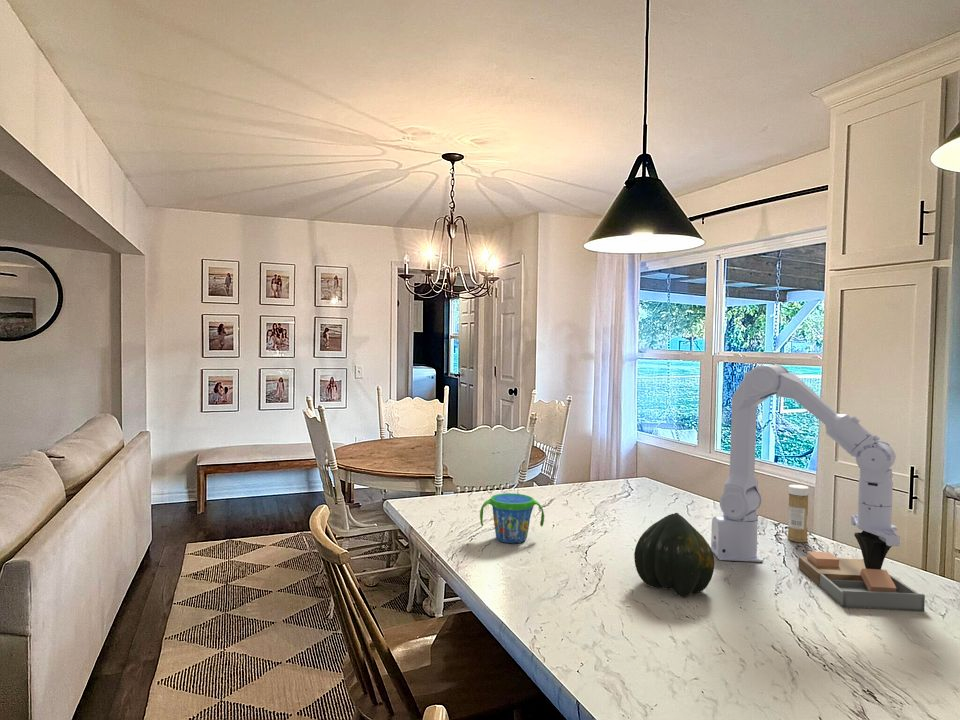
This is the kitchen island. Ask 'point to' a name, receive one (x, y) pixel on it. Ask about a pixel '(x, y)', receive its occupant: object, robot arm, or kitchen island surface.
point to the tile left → (823, 559)
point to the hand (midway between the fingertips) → (872, 570)
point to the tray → (872, 595)
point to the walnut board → (833, 570)
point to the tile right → (877, 580)
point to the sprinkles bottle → (798, 513)
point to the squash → (674, 556)
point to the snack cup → (511, 516)
